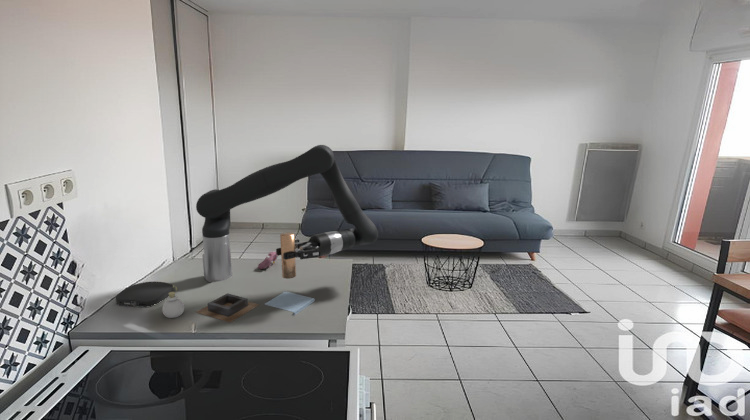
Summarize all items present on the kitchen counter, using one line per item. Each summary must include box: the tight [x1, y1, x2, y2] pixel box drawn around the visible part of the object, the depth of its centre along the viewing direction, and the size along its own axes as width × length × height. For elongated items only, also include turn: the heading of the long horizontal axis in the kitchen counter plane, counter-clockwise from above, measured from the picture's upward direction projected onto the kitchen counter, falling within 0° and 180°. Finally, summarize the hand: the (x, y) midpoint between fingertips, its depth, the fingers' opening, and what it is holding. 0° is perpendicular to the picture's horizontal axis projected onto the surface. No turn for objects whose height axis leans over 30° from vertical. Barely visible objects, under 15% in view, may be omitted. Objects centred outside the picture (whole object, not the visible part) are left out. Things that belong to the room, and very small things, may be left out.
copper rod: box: [279, 232, 297, 280], centre depth 138 cm, size 4×4×14 cm
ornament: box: [162, 285, 185, 319], centre depth 132 cm, size 6×7×10 cm
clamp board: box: [196, 292, 260, 323], centre depth 137 cm, size 14×13×4 cm
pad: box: [264, 291, 315, 316], centre depth 142 cm, size 12×11×1 cm
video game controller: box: [257, 250, 280, 270], centre depth 175 cm, size 10×5×7 cm, turn 170°
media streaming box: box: [115, 281, 175, 307], centre depth 146 cm, size 15×15×3 cm
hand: (280, 254), depth 136 cm, fingers closed on copper rod, 4 cm apart
